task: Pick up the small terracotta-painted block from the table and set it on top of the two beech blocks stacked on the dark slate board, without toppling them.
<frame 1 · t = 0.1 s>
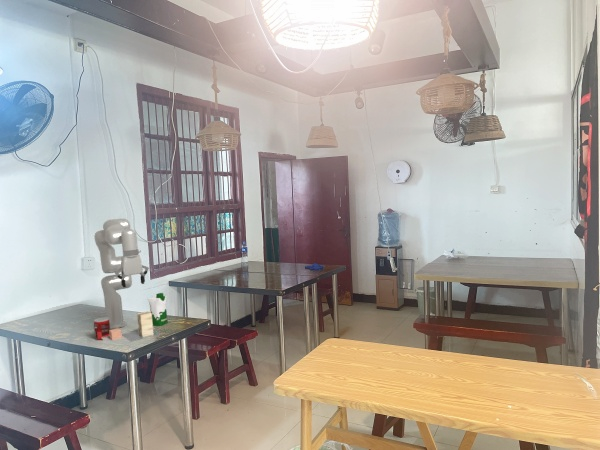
hand: (133, 285, 231), 31 cm above the table, tool pointing down, fingers open, 9 cm apart
beech block mid: (145, 324, 240), point 7 cm above the table, touching beech block base
canned food: (103, 338, 245), on the table
milk carton: (159, 326, 261), on the table
terracotta block: (116, 340, 239), on the table
beech block base: (146, 334, 241), point 1 cm above the table, touching beech block mid, slate board
slate board: (141, 337, 242), on the table
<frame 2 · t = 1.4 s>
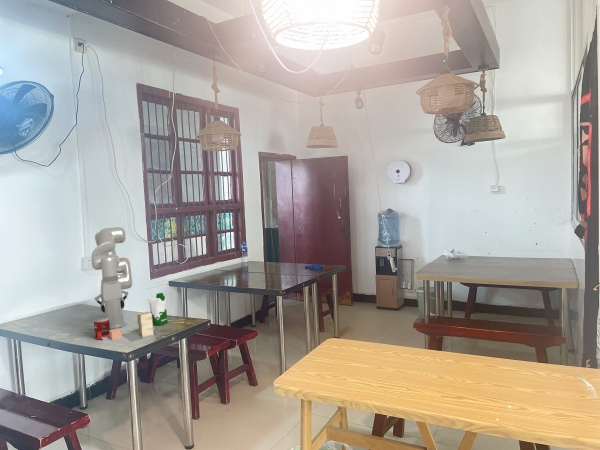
hand: (113, 310, 237), 17 cm above the table, tool pointing down, fingers open, 9 cm apart
nothing on the table moved.
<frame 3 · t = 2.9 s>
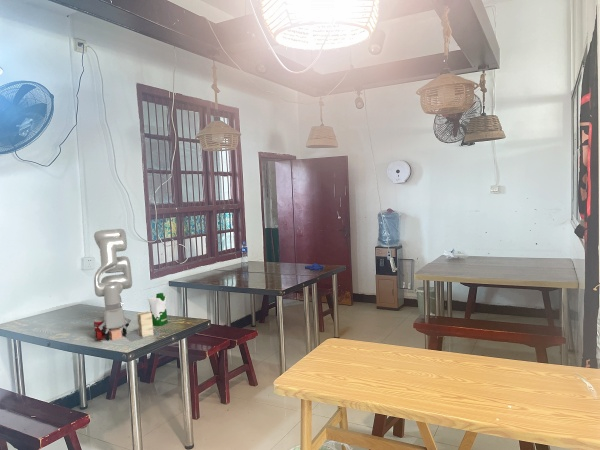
hand: (116, 337, 239), 2 cm above the table, tool pointing down, fingers open, 8 cm apart
nothing on the table moved.
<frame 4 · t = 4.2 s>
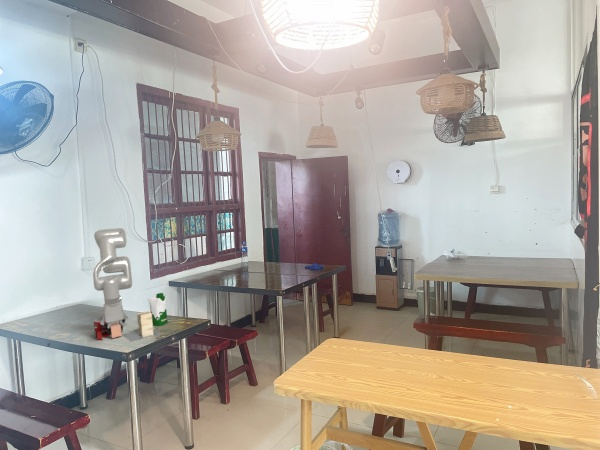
hand: (115, 332, 239), 4 cm above the table, tool pointing down, fingers closed on terracotta block, 5 cm apart
terracotta block: (115, 335, 240), point 2 cm above the table, touching gripper
everything else where it was.
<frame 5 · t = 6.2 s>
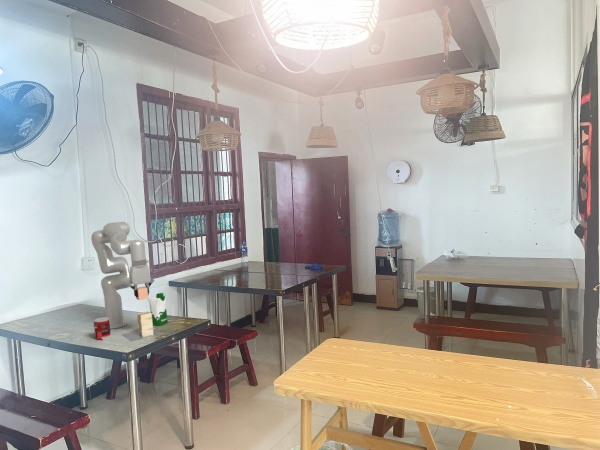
hand: (142, 295, 239), 24 cm above the table, tool pointing down, fingers closed on terracotta block, 5 cm apart
terracotta block: (142, 298, 239), point 22 cm above the table, touching gripper
everything else where it was.
when the fingers open (16 cm above the table, at t = 8.0 s): terracotta block stays where it is, resting on beech block mid.
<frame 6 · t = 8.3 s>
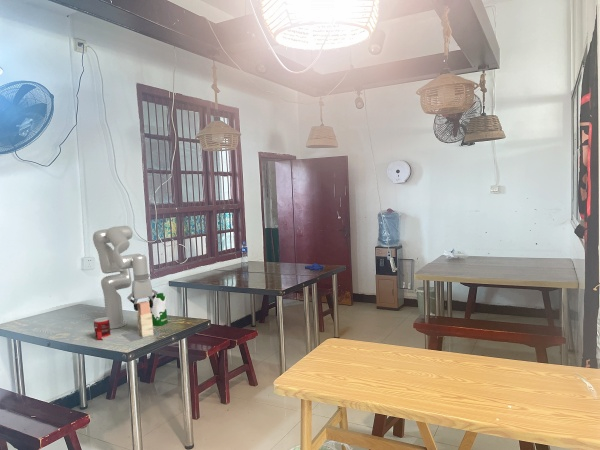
hand: (143, 308, 240), 16 cm above the table, tool pointing down, fingers open, 7 cm apart
beech block mid: (145, 324, 240), point 7 cm above the table, touching beech block base, terracotta block
terracotta block: (144, 313, 240), point 13 cm above the table, touching beech block mid
everything else where it was.
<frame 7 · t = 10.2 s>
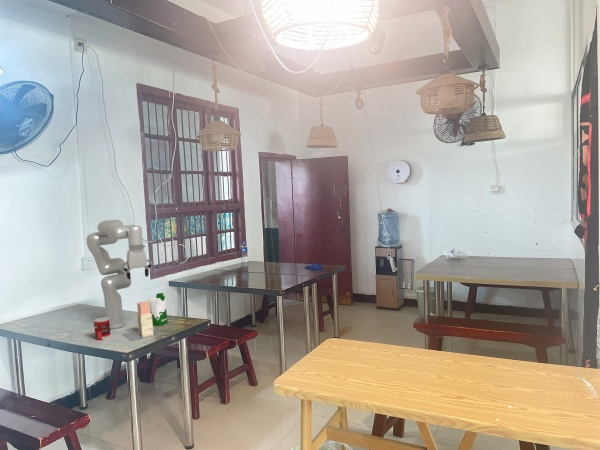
hand: (138, 277, 246), 33 cm above the table, tool pointing down, fingers open, 9 cm apart
nothing on the table moved.
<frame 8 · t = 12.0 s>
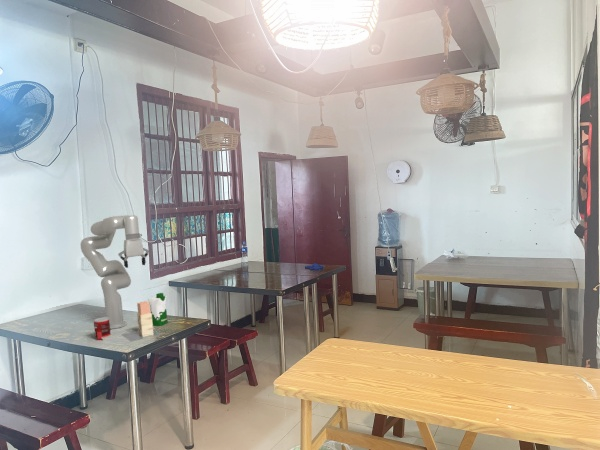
hand: (135, 266, 251), 38 cm above the table, tool pointing down, fingers open, 9 cm apart
nothing on the table moved.
at the end: terracotta block 0.2 cm off-centre on the beech block mid, point 6.0 cm above the beech block mid's base; beech block mid 0.0 cm off-centre on the beech block base, point 6.0 cm above the beech block base's base; terracotta block tilted 0° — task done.
